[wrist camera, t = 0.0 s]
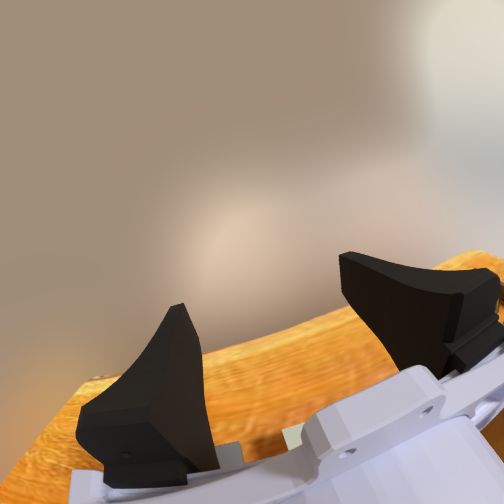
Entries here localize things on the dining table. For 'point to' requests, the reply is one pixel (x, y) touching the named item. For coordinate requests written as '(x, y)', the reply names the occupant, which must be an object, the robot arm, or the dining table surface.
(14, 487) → the dining table surface
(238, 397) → the dining table surface
